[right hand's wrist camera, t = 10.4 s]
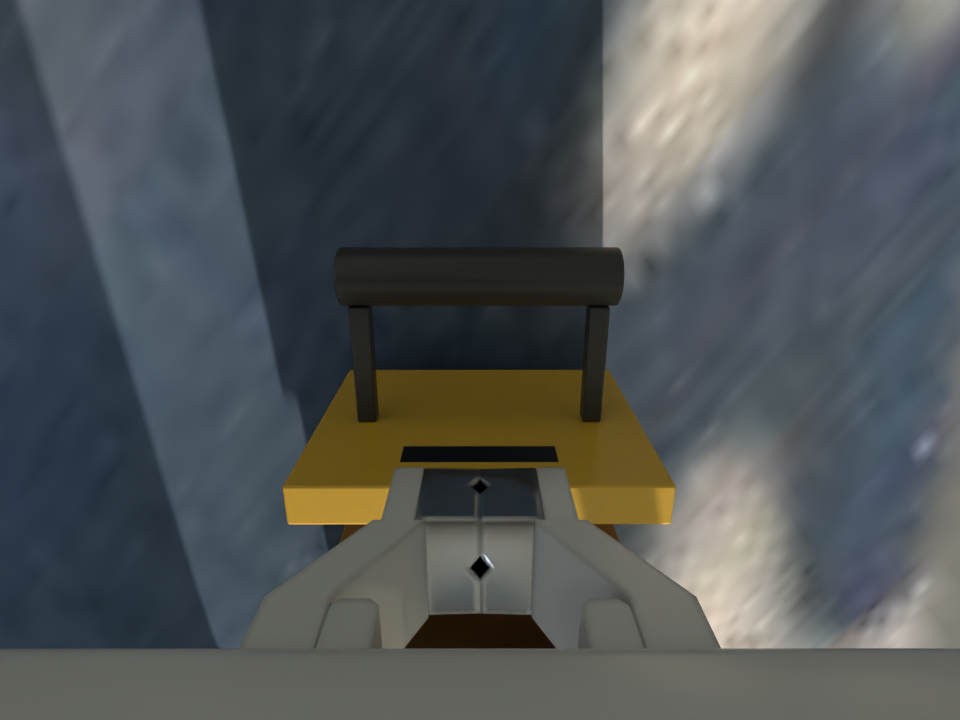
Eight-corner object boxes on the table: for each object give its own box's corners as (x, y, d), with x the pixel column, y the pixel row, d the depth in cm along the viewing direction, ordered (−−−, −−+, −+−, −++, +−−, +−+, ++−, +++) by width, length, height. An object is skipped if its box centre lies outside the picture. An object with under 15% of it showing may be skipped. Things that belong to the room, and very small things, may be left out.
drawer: (337, 227, 21) (251, 277, 13) (621, 227, 21) (706, 277, 13) (379, 718, 29) (343, 925, 21) (579, 718, 29) (615, 924, 21)
